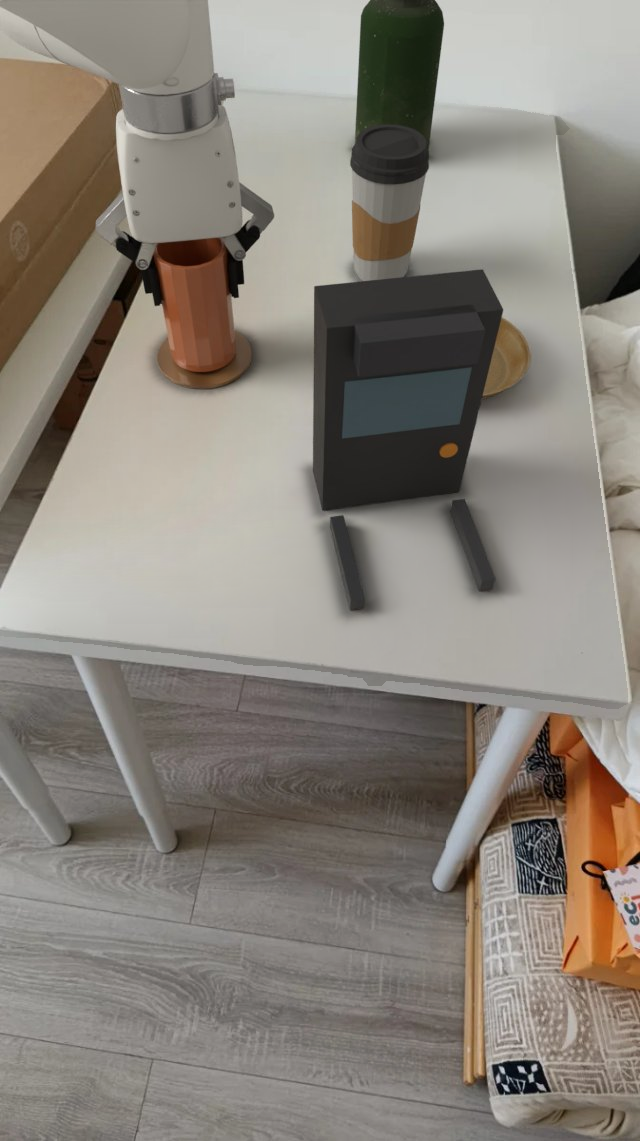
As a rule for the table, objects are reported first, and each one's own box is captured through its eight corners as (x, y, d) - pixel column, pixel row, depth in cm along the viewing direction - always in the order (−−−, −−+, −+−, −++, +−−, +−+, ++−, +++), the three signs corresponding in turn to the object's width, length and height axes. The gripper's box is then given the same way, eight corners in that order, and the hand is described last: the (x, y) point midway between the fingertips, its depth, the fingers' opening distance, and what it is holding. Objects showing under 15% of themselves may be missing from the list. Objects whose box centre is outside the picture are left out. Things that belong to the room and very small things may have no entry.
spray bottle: (365, 126, 112) (378, -94, 92) (435, 137, 111) (464, -84, 90) (345, 160, 107) (354, -66, 86) (418, 173, 105) (445, -55, 84)
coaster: (160, 394, 79) (160, 391, 79) (154, 332, 85) (154, 329, 85) (257, 383, 80) (257, 380, 80) (245, 323, 86) (245, 320, 86)
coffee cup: (429, 277, 91) (448, 147, 79) (373, 301, 89) (383, 170, 76) (387, 243, 95) (398, 114, 83) (331, 265, 93) (334, 135, 80)
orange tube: (173, 375, 80) (155, 271, 70) (169, 334, 83) (150, 229, 74) (239, 368, 80) (230, 264, 71) (231, 327, 84) (222, 223, 74)
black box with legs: (346, 611, 64) (359, 439, 48) (312, 470, 73) (314, 285, 57) (495, 589, 66) (557, 415, 50) (444, 453, 75) (483, 268, 59)
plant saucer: (484, 311, 88) (489, 291, 86) (551, 395, 80) (557, 376, 78) (364, 340, 85) (365, 319, 82) (421, 430, 77) (424, 410, 75)
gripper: (270, 71, 65) (277, 263, 79) (58, 85, 63) (105, 279, 77) (284, 113, 61) (289, 308, 75) (57, 130, 59) (107, 326, 73)
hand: (195, 292), depth 76 cm, fingers closed on orange tube, 6 cm apart
